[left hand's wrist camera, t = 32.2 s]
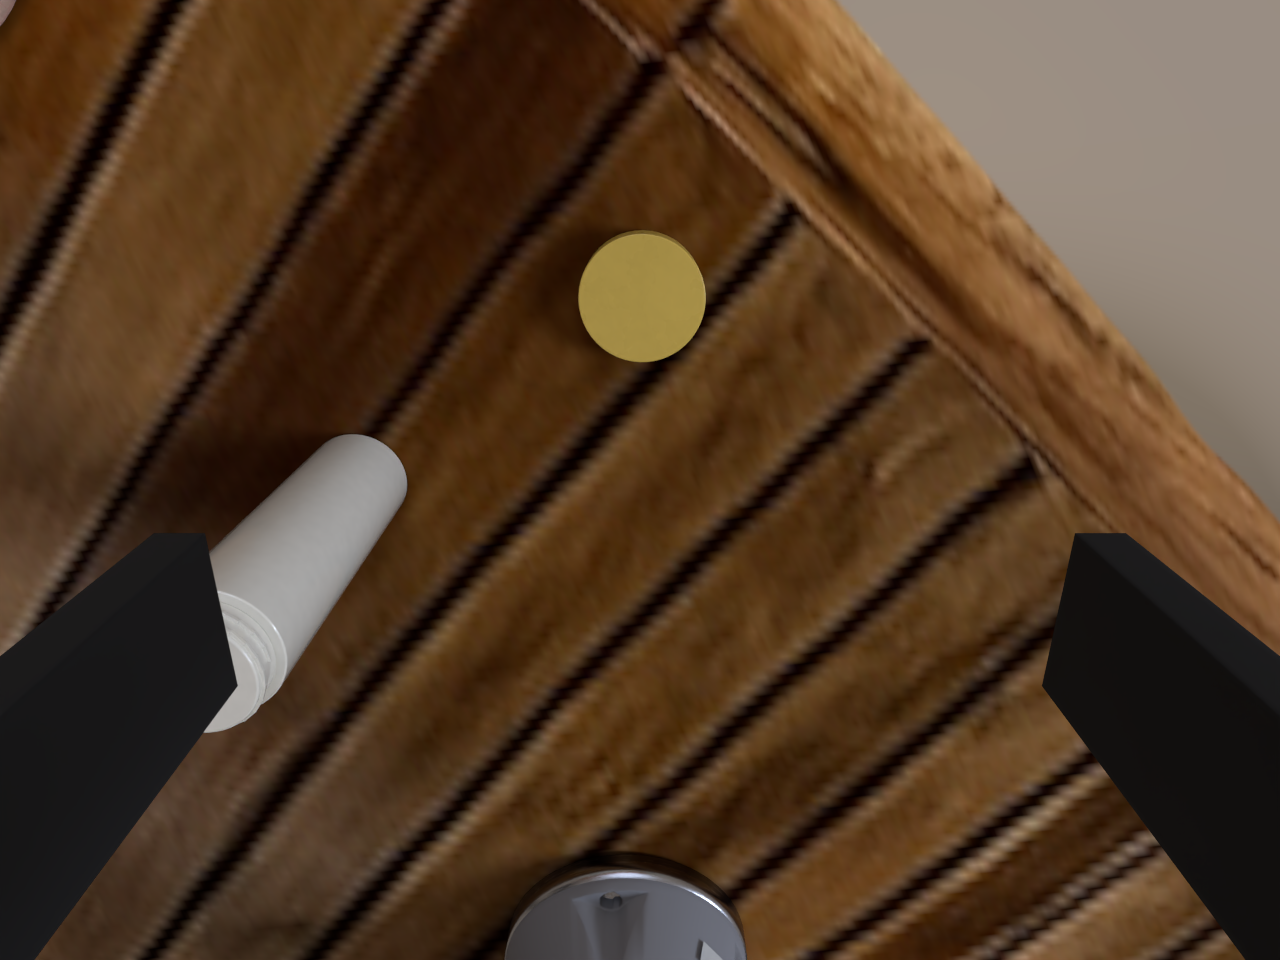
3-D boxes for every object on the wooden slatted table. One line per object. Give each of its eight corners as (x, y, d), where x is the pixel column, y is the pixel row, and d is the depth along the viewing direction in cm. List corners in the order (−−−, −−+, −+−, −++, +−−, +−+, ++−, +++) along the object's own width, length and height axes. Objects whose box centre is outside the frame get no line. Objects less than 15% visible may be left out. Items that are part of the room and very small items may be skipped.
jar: (379, 539, 43) (231, 764, 28) (294, 491, 42) (89, 696, 26) (424, 467, 42) (294, 662, 26) (337, 415, 41) (146, 585, 25)
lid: (671, 372, 40) (672, 381, 38) (562, 324, 39) (558, 332, 37) (723, 262, 38) (727, 266, 36) (609, 208, 37) (608, 211, 36)
